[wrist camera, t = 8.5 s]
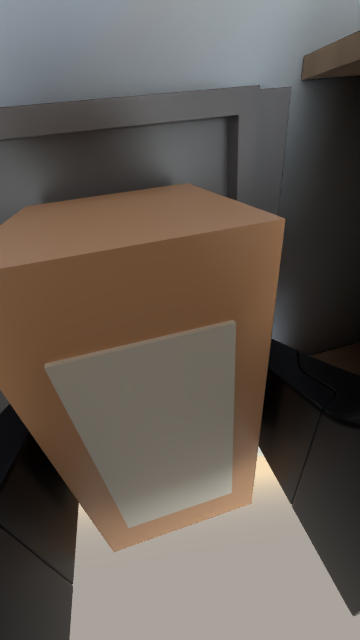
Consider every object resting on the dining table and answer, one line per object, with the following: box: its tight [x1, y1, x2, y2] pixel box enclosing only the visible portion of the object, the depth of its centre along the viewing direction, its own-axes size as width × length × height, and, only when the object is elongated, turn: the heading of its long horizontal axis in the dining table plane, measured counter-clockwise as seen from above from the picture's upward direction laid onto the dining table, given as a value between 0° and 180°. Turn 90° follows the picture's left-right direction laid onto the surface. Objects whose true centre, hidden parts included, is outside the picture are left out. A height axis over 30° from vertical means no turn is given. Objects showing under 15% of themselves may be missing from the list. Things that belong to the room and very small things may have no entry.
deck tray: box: [0, 85, 291, 413], centre depth 9 cm, size 14×15×5 cm
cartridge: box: [0, 183, 286, 552], centre depth 8 cm, size 9×4×5 cm, turn 6°
